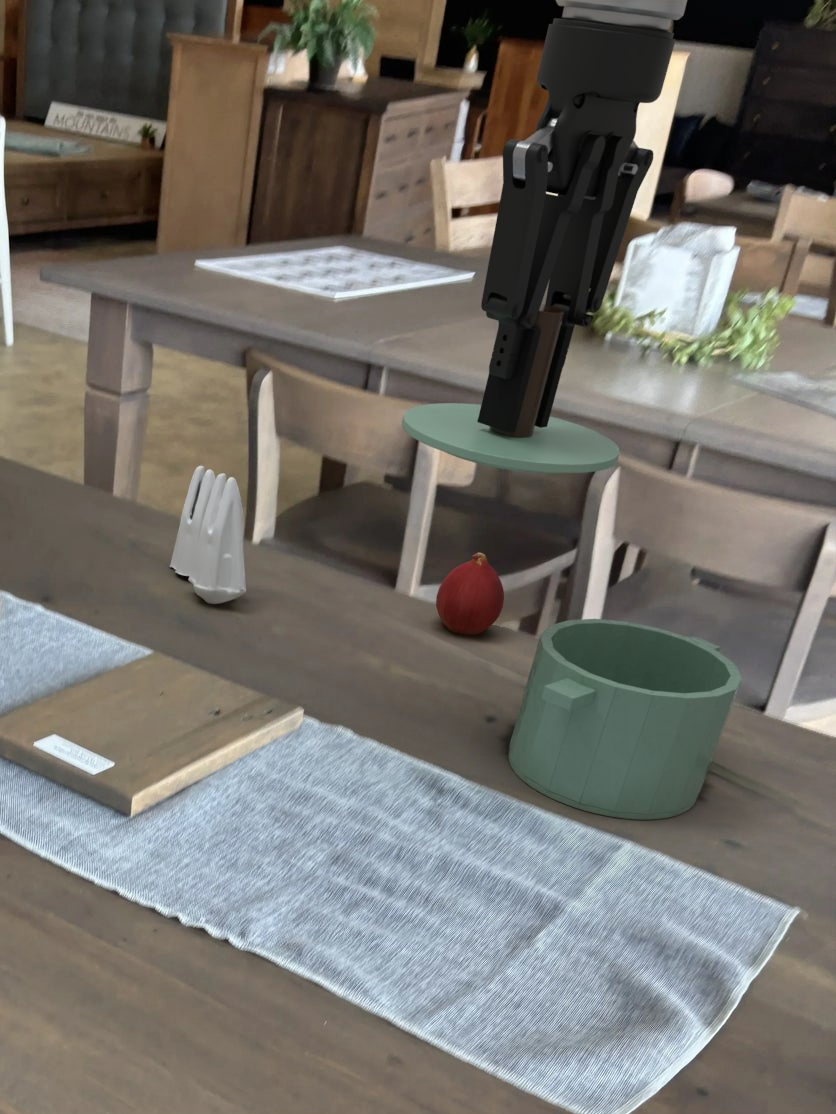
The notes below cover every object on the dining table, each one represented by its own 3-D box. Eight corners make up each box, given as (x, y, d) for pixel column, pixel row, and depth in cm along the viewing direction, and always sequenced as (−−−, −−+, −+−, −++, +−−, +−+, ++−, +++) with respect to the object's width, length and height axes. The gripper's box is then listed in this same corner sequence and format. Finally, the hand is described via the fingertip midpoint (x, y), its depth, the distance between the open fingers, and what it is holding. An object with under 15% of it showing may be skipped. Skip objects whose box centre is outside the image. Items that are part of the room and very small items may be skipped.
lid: (656, 468, 99) (701, 327, 94) (531, 493, 90) (572, 339, 85) (485, 412, 108) (517, 281, 102) (356, 430, 99) (383, 287, 94)
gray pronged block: (244, 613, 127) (263, 489, 121) (200, 613, 126) (217, 488, 120) (209, 566, 137) (225, 449, 131) (167, 566, 136) (181, 448, 130)
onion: (437, 622, 130) (458, 536, 126) (498, 637, 128) (521, 551, 124) (420, 641, 126) (441, 553, 121) (483, 657, 124) (506, 568, 120)
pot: (750, 782, 108) (795, 665, 103) (608, 848, 97) (651, 722, 92) (595, 712, 116) (630, 601, 111) (448, 766, 105) (479, 645, 100)
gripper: (634, 24, 91) (535, 401, 105) (483, 3, 82) (396, 420, 96) (738, 36, 87) (622, 428, 100) (592, 15, 78) (485, 450, 91)
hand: (512, 423), depth 98 cm, fingers closed on lid, 3 cm apart
